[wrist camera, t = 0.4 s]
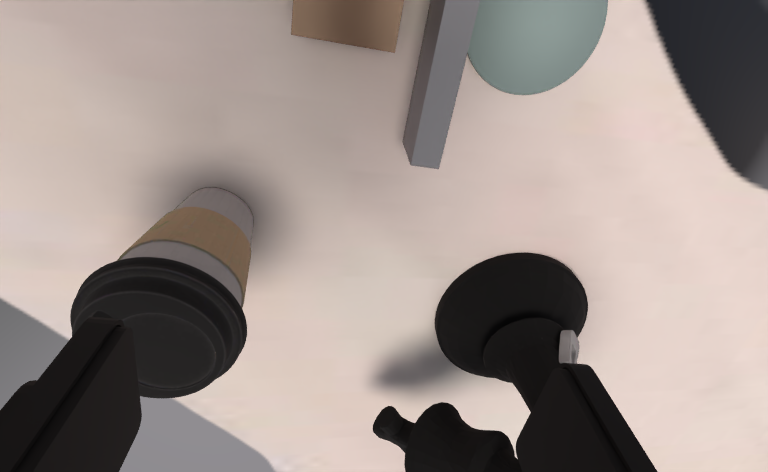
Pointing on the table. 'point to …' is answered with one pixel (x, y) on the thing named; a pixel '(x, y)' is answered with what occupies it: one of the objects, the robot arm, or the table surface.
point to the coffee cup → (179, 293)
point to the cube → (349, 22)
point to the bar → (438, 79)
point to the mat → (534, 41)
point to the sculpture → (493, 356)
